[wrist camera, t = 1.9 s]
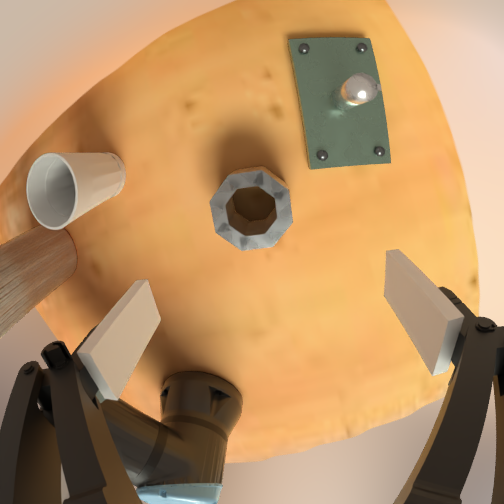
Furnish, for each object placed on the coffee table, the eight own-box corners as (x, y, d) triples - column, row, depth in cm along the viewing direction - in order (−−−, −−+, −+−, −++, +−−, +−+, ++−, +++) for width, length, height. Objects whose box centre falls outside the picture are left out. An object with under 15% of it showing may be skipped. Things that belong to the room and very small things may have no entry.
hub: (227, 236, 36) (220, 253, 31) (216, 173, 33) (205, 179, 28) (291, 227, 35) (295, 243, 30) (282, 163, 33) (285, 166, 27)
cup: (113, 134, 32) (56, 136, 21) (141, 183, 34) (90, 203, 23) (75, 168, 34) (17, 182, 23) (101, 214, 36) (48, 243, 25)
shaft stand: (308, 168, 33) (322, 176, 24) (287, 43, 27) (293, 13, 19) (386, 162, 31) (420, 169, 23) (366, 42, 26) (392, 16, 18)
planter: (84, 241, 38) (-24, 321, 17) (71, 288, 41) (-13, 372, 20) (42, 210, 36) (-66, 265, 15) (32, 258, 40) (-56, 322, 18)
